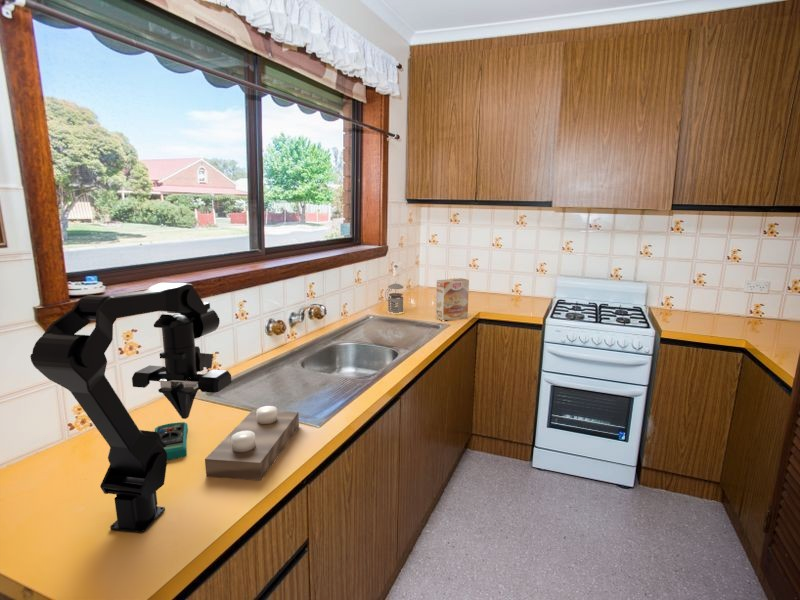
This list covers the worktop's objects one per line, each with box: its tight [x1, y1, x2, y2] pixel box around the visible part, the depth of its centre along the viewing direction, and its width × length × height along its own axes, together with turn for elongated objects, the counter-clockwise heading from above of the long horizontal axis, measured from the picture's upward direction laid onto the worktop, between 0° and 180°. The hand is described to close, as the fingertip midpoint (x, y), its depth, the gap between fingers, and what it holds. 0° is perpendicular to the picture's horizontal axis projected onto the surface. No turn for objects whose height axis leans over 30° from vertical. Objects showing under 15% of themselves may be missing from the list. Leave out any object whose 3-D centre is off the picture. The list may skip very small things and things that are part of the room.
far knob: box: [256, 405, 278, 424], centre depth 115 cm, size 5×5×7 cm
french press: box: [384, 264, 404, 313], centre depth 244 cm, size 10×12×25 cm
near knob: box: [232, 431, 255, 452], centre depth 102 cm, size 5×5×7 cm
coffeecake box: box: [435, 277, 470, 322], centre depth 231 cm, size 15×7×20 cm, turn 119°
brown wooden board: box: [204, 409, 300, 481], centre depth 109 cm, size 24×12×4 cm, turn 173°
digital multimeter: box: [154, 421, 189, 461], centre depth 111 cm, size 7×15×3 cm, turn 23°
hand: (185, 417), depth 97 cm, fingers closed
